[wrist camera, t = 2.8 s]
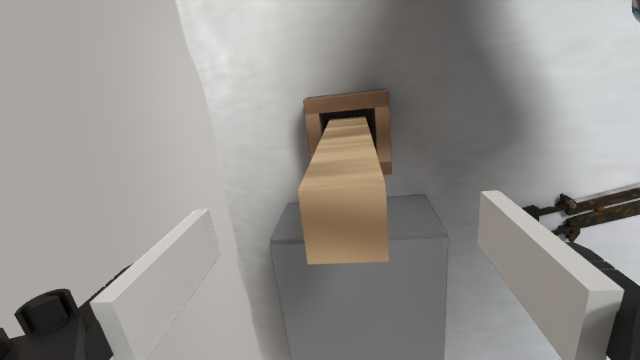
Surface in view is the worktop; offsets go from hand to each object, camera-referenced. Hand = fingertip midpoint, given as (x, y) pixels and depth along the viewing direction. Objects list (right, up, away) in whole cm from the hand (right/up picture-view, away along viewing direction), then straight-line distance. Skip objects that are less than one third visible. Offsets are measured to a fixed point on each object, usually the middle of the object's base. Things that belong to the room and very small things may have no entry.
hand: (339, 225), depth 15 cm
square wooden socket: (+3, +8, +22) cm, 24 cm away
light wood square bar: (+3, +8, +22) cm, 24 cm away
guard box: (+5, -13, +30) cm, 33 cm away
